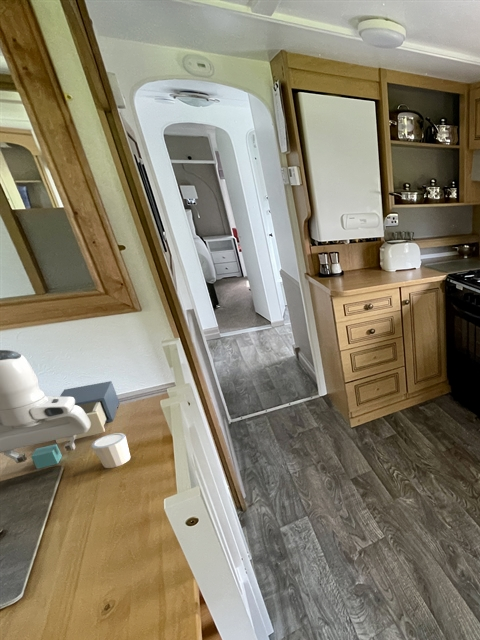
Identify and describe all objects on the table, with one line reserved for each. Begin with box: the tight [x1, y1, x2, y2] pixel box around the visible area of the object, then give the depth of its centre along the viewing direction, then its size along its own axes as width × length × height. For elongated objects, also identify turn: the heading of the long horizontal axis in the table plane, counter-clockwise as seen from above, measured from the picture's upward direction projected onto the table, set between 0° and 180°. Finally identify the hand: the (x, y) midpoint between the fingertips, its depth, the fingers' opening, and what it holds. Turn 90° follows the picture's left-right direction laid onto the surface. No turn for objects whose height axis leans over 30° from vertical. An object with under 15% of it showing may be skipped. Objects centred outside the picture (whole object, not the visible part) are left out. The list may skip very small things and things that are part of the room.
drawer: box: [54, 401, 107, 444], centre depth 113 cm, size 17×10×7 cm, turn 34°
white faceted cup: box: [90, 432, 131, 469], centre depth 101 cm, size 7×7×7 cm
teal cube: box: [30, 443, 63, 470], centre depth 101 cm, size 4×4×4 cm
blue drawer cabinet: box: [59, 380, 120, 424], centre depth 121 cm, size 14×12×9 cm
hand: (47, 455), depth 101 cm, fingers open, 8 cm apart
